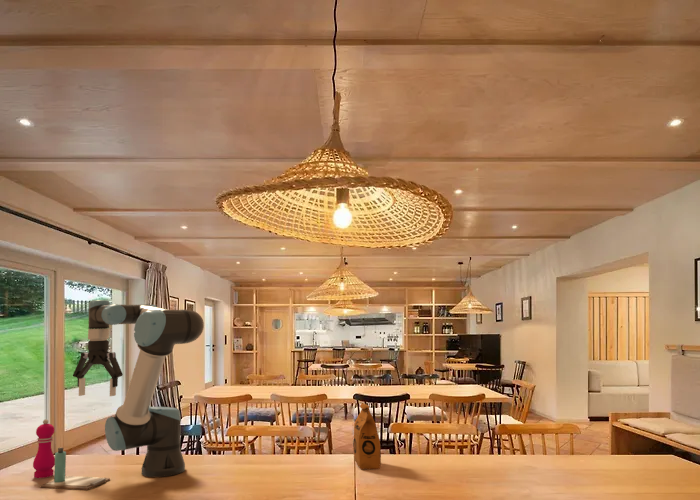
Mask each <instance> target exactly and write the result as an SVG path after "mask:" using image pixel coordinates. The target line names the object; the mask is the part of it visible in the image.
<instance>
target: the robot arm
mask: <svg viewBox="0 0 700 500" xmlns="http://www.w3.org/2000/svg"><path fill="white" fill-rule="evenodd" d="M110 303H111V302H110V300H108V299H107V300H105V299H97V300H96V299H94V300H90V301H89V305H88V325H87V326H88V329H87V330H88V331H87V332H88V333H87V339H88V342H87V350H88V352H81V353H80V359H79V361H78V363H77V365H76V367H75V370H74V371H73V374H72V376H73V377H74V378H76V379H77V387H78V396H79V397H81V396H85V395H86V377H85V376H86V374H87V373H88V372H89V370H90V369H91V368H92V366H94V365H101V366H103V368H104V369H105V370H106V371H107V373H108V375H109V376H110V377H111V378H109V397H114V396H116V395H117V387H118V385H119V384H118V383H119V381H118V380H119V379H118V378H120V377H121V378H122V377H123V372H122V369H121V367H120V364H119V362H118V359H117V355H116V352H114V351H113V352H109V348H110V341H109V339H110V325H111V326H116V325H133V324H134V329H133V331H134V333H133V338H134V341H135V342H136V344H137V347H138V350H139V353H138V356H137V359H136V362H135V366H134V369H133V372H132V375H131V377H130V382H129V386H128V389H127V391H126V394H125V398H124V401H123V403H122V404H121V405H120V406H118V407H117V409H116V412H115V415H114V416H110V417H108V418H107V419H106V420H105V424H104V433H105V434H104V435H105V439H106V443H107V444H108V446H109V448H110V449H111V450H112V451H114V452H119V451H126V450H131V449H136V448H140V447H146V454H145V456H144V460H143V463H142V466H141V475H142V476H144V477H148V478H160V477H161V478H162V477H163V478H164V477H171V476H176V475H179V474H182V473H183V472H185V470H186V463H185V460H184V456H183V454H182V451H181V424H182V423H181V422H182V418H181V410H180V409H179V408H177V407H171V406H169V407H168V406H150V405H151V403H152V399H153V396H154V394H155V390H156V387H157V384H158V382H159V380H160V379H159V378H160V375H161V372H162V369H163V365H164V362H165V359H166V357H168V356H170V355H171V354H172V352H173V349H174V346H175V345H183V344H190V343H192V342H194V341H197V339H198V338H200V336H201V335H202V334H203V331H204V329H205V327H204V326H205V323H204V319H203V317H202V316H201V314H200V313H198V312H196V311H194V310H192V309H167V308H162V307H158V306H157V305H155V304H150V303H149V304H148V303H147V304H118V303H114V304H113V303H111V304H110ZM87 359H88V360H87Z"/></svg>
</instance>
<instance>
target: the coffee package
mask: <svg viewBox="0 0 700 500" xmlns="http://www.w3.org/2000/svg"><path fill="white" fill-rule="evenodd" d="M359 408H361V410H360V412H359V414H358V415H357V416H356V417H357V418H356V419H355V421H354V426H353V440H352V441H353V443H352V444H353V445H352V447H353V457H354V462H355V464H356V465H357V466H358V468H359V469H361V470H378V469H381V461H382V450H381V440H380V436H379V433H378V428H377V425H376V423H375V420H374V418H373V414H372V413H371V411H370V405H368V404H367V403H364V402H362V403H361V404H360V405H359Z"/></svg>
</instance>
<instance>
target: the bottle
mask: <svg viewBox="0 0 700 500" xmlns="http://www.w3.org/2000/svg"><path fill="white" fill-rule="evenodd" d="M54 457H55V465H54V472H53V481H54V482H63V481H65V476H66V469H67V468H66V465H67V464H66V463H67V461H66V460H67V458H66V457H67V451H64V447H58V448H57V452H55V453H54Z"/></svg>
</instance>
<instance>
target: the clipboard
mask: <svg viewBox="0 0 700 500" xmlns="http://www.w3.org/2000/svg"><path fill="white" fill-rule="evenodd" d="M109 481H111V478H108V477H97V476H95V477H94V476H74V475H65V481H63V482H54V480H51V481H50V482H47V483H45V484H42V485H40V489H41V488H43V489H61V490H63V489H64V490H76V491H77V490H79V491H81V490H82V491H89V490H91V489H93V488H96V487H98V486H100V485H102V484H105V483H107V482H109Z"/></svg>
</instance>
